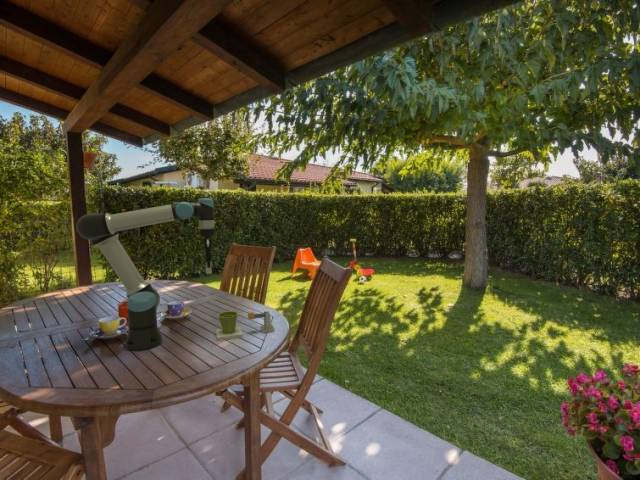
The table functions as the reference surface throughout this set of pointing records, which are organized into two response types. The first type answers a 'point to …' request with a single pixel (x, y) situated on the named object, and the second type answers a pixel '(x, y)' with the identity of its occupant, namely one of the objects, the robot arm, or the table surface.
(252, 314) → the press lever
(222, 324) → the plant pot
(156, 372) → the table surface
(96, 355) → the table surface
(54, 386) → the table surface
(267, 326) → the lever stand
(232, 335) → the plate
